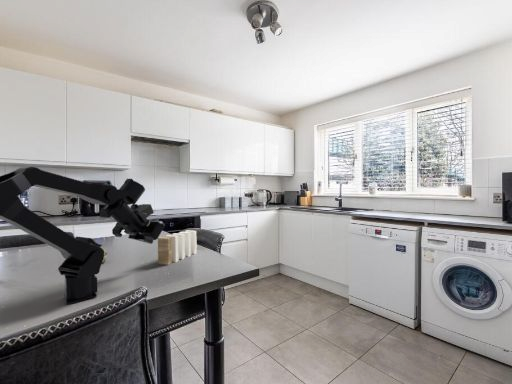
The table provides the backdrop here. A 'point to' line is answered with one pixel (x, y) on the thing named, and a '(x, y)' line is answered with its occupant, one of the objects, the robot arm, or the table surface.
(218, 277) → the table surface
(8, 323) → the table surface
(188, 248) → the domino
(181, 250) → the domino
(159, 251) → the domino
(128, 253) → the table surface
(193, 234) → the domino
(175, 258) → the domino
